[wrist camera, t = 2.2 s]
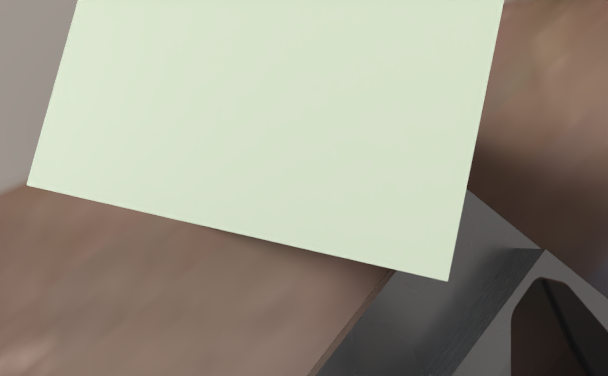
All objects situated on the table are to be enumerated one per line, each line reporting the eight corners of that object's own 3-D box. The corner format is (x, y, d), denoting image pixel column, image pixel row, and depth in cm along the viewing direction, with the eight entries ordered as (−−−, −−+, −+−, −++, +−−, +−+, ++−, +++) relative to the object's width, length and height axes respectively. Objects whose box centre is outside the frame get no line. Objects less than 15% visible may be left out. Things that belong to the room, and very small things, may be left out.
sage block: (335, 255, 19) (447, 281, 7) (185, 220, 19) (26, 184, 7) (368, 107, 19) (525, -110, 7) (221, 73, 19) (135, -209, 7)
